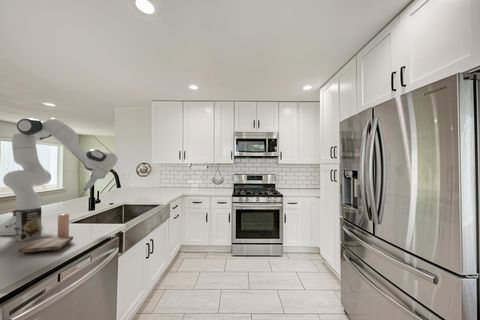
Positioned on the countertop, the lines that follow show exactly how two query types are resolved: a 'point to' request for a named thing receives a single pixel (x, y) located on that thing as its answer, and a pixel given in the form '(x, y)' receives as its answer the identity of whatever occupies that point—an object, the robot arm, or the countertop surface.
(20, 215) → the coffee box
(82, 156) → the robot arm
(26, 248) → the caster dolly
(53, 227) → the countertop surface
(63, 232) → the terracotta canister
